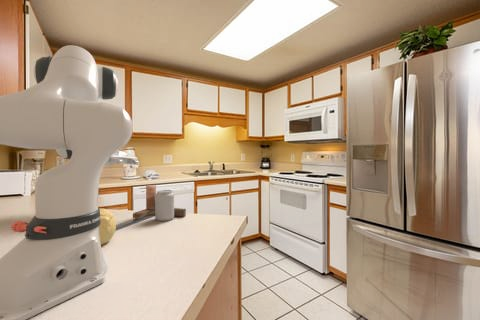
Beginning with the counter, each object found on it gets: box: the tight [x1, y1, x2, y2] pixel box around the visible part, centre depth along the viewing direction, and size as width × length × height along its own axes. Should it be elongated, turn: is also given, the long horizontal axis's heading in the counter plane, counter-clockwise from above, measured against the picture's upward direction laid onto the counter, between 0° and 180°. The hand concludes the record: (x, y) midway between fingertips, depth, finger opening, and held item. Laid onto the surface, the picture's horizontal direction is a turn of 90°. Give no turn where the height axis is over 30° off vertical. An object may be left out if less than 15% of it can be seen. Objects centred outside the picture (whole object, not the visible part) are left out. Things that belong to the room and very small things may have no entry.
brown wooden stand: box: [132, 184, 187, 219], centre depth 97 cm, size 14×16×13 cm
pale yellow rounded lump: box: [99, 208, 117, 246], centre depth 70 cm, size 11×12×11 cm
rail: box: [115, 213, 155, 232], centre depth 92 cm, size 28×2×1 cm, turn 162°
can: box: [154, 189, 175, 222], centre depth 96 cm, size 8×8×12 cm
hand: (129, 162), depth 103 cm, fingers open, 8 cm apart
